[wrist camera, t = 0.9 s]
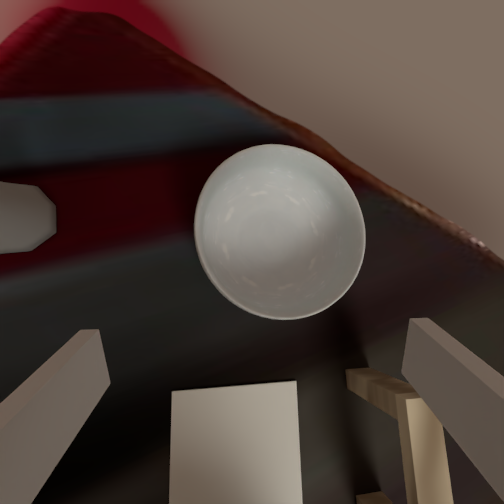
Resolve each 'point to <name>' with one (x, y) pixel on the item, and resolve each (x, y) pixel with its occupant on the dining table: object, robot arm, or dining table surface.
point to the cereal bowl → (279, 232)
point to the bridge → (408, 437)
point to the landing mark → (235, 445)
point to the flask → (24, 217)
